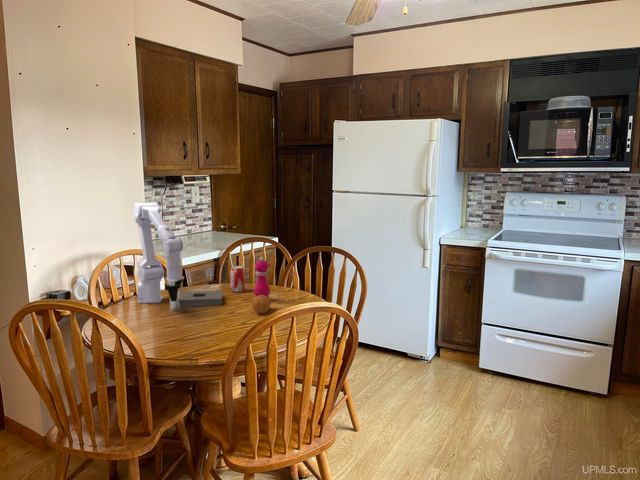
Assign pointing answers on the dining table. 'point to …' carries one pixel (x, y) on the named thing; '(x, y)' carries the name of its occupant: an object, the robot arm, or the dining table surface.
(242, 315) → the dining table surface
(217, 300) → the dock plate
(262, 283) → the pepper mill
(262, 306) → the potato
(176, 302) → the steel peg
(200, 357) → the dining table surface
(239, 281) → the soda can
